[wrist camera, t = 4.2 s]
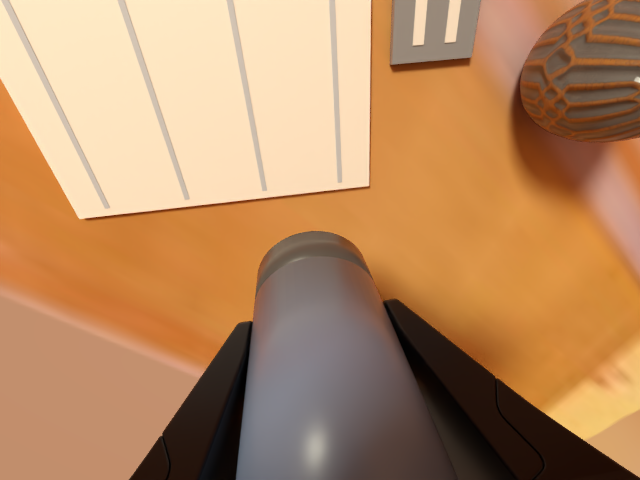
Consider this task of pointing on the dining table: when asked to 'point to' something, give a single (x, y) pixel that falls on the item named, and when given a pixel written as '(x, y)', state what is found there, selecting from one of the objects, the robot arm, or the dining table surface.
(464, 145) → the dining table surface
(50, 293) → the dining table surface
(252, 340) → the grey capped bottle
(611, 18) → the vase
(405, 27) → the grey striped tile
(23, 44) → the paper
